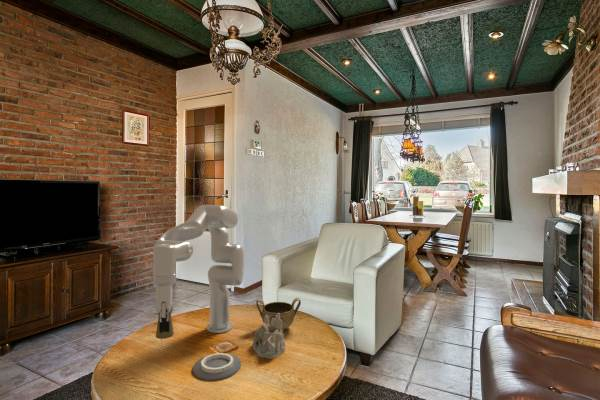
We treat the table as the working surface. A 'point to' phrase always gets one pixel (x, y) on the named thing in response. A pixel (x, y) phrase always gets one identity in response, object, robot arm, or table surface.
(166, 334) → the cork
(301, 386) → the table surface
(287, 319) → the ceramic bowl
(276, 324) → the ceramic cottage
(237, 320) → the table surface
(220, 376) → the round tray
